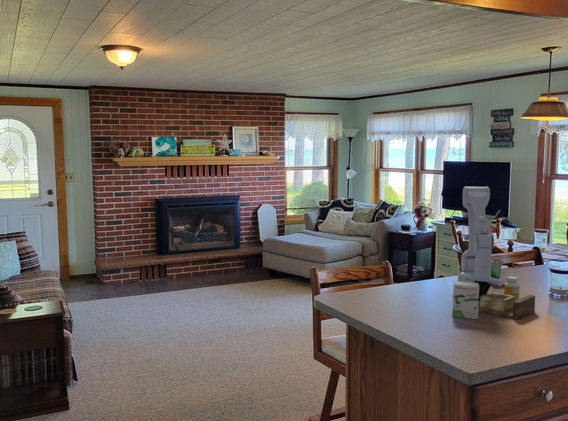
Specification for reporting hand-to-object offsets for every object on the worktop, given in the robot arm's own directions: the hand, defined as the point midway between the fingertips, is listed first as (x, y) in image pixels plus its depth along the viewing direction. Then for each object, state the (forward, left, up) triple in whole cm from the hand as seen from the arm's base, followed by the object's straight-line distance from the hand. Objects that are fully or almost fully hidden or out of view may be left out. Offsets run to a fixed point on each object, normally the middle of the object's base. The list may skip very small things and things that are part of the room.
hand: (481, 301), depth 205 cm
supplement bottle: (+5, +15, -2) cm, 16 cm away
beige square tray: (+6, 0, -1) cm, 6 cm away
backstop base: (+7, 0, -2) cm, 7 cm away
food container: (-15, +44, -2) cm, 47 cm away
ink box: (+2, -16, -2) cm, 16 cm away
